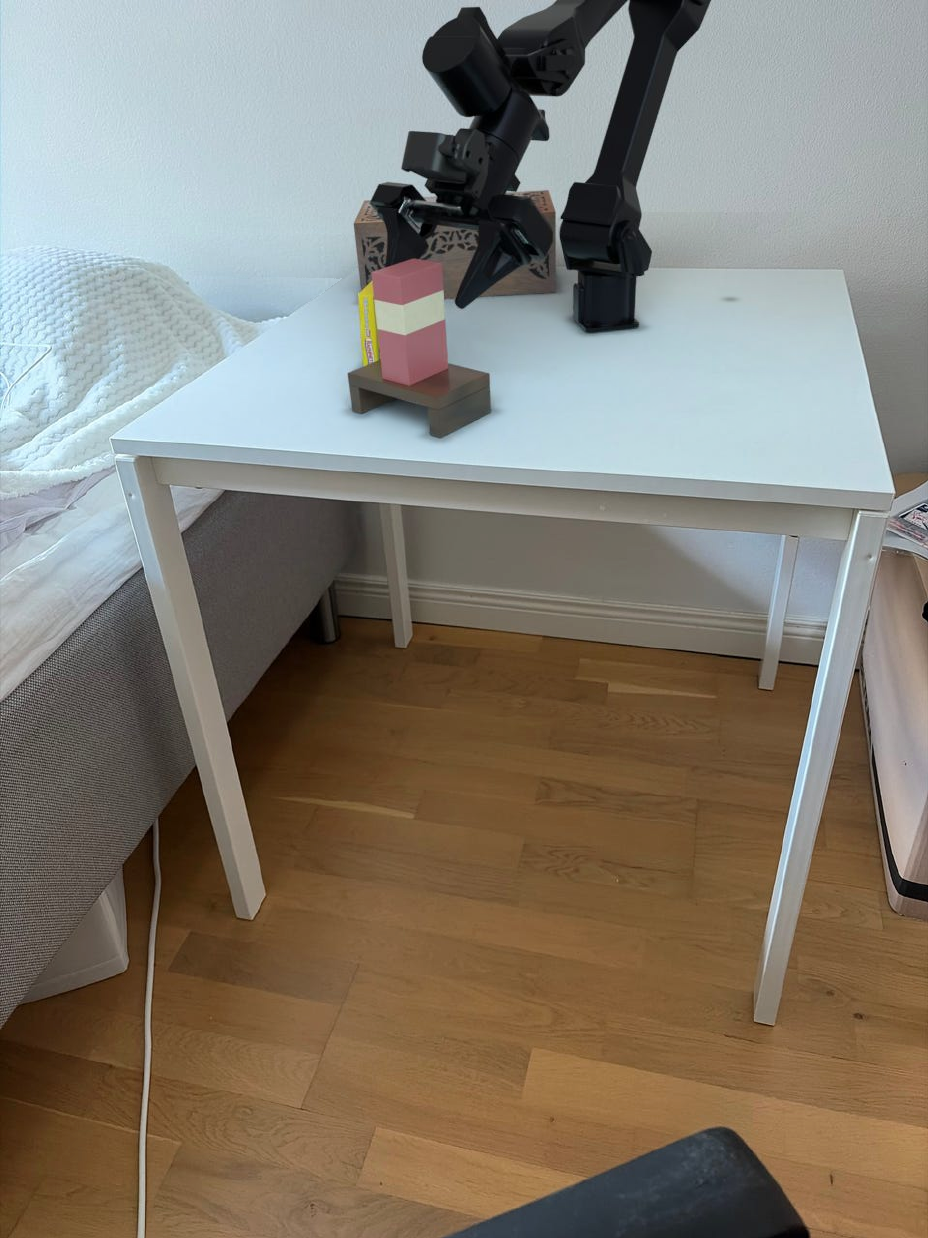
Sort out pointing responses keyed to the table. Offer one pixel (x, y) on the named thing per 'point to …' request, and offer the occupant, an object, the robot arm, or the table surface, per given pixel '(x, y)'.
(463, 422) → the shelf
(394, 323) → the packet
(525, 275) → the tissue box cover
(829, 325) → the table surface
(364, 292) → the candy box
